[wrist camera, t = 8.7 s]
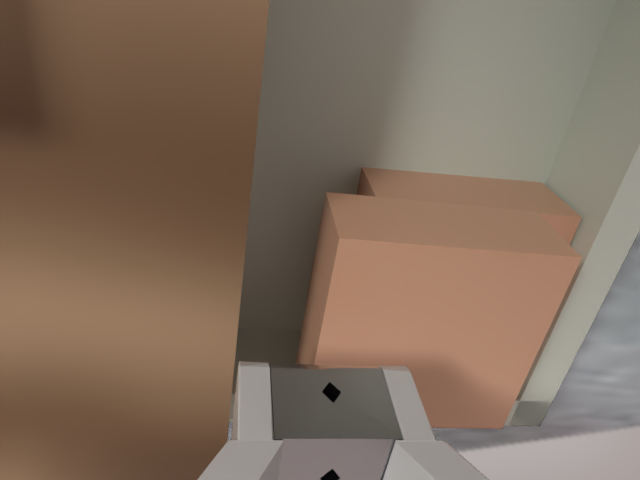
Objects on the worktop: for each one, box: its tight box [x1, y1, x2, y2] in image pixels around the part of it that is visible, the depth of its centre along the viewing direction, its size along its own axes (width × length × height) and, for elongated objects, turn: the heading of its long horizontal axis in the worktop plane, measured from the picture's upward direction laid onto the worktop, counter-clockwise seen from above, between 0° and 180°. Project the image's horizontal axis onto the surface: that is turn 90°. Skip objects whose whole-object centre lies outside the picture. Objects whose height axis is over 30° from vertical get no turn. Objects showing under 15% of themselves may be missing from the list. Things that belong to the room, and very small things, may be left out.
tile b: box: [296, 192, 582, 429], centre depth 12 cm, size 5×5×2 cm
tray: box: [229, 0, 640, 426], centre depth 12 cm, size 16×9×3 cm, turn 171°
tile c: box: [357, 167, 582, 245], centre depth 14 cm, size 5×5×2 cm
